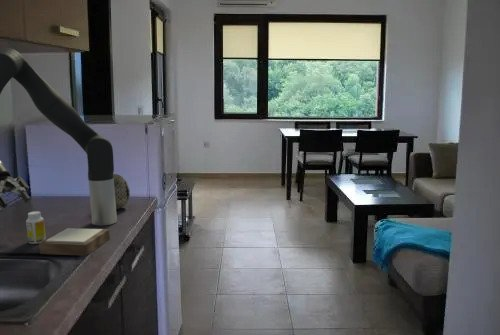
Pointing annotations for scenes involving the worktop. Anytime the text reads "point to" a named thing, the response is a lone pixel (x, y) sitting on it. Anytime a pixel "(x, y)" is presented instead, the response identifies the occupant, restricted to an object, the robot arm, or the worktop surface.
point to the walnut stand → (74, 241)
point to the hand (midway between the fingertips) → (17, 204)
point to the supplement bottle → (35, 228)
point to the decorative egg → (121, 191)
